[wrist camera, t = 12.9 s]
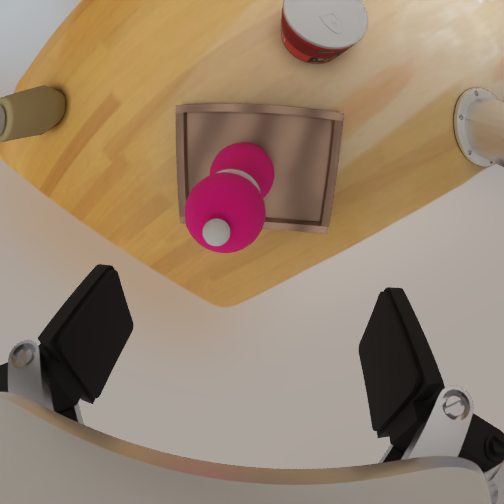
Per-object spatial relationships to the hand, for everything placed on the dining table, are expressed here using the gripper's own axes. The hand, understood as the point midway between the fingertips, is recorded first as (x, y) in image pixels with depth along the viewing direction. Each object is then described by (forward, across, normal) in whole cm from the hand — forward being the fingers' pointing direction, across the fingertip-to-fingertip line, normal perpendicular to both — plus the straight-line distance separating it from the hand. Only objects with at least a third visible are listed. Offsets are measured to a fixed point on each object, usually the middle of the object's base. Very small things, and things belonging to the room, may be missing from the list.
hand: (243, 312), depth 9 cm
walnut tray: (+29, +2, +2) cm, 29 cm away
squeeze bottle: (+28, +35, -10) cm, 46 cm away
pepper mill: (+28, +3, +2) cm, 28 cm away
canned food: (+29, -4, -16) cm, 34 cm away
